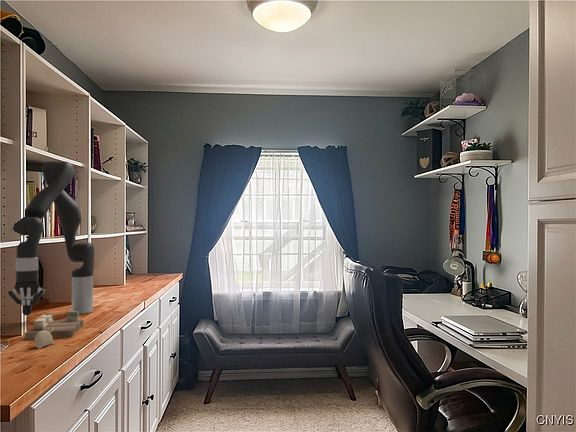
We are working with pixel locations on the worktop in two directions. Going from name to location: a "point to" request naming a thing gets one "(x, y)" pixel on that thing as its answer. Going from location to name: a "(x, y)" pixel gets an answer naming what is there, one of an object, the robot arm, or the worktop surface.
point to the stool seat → (60, 327)
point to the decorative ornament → (43, 338)
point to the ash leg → (43, 321)
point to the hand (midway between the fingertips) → (26, 314)
